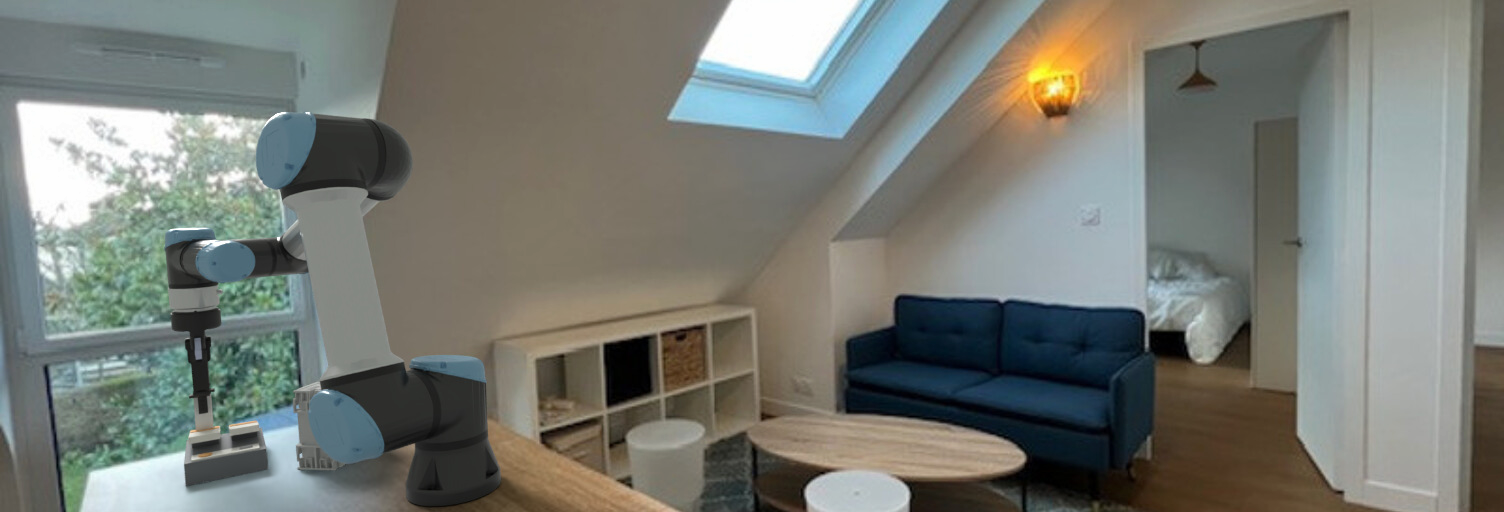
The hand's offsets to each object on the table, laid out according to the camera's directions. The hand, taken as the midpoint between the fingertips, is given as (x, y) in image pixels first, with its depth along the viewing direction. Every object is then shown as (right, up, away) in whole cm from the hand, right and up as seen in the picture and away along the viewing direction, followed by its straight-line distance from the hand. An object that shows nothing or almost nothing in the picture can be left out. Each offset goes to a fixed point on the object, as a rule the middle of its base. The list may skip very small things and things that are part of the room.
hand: (204, 427), depth 136 cm
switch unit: (+6, -6, -2) cm, 9 cm away
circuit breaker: (+26, -6, +1) cm, 27 cm away
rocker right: (+7, 0, 0) cm, 7 cm away
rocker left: (+3, -1, -3) cm, 4 cm away
